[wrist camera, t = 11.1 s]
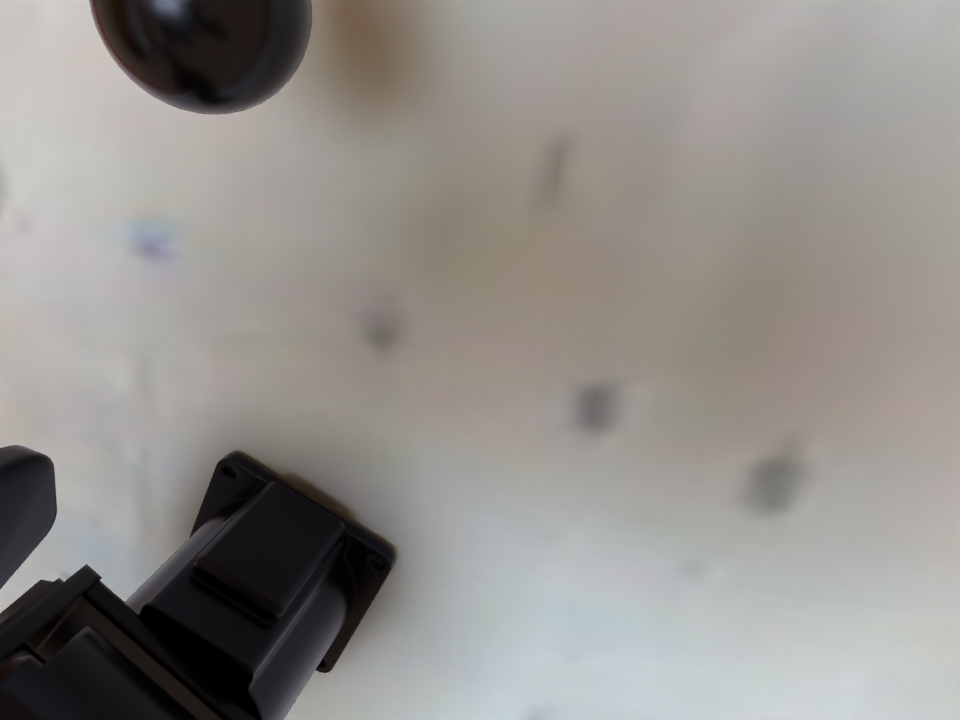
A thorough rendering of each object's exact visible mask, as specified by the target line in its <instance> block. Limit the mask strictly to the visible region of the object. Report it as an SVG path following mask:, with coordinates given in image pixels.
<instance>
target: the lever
mask: <svg viewBox="0 0 960 720" xmlns="http://www.w3.org/2000/svg"><path fill="white" fill-rule="evenodd" d="M89 1H90V7H91V12H92V16H93V19H94V22H95V25H96V28H97V30H98V33H99V35H100V37H101V39H102V41H103V43H104V45H105V47H106V48H107V50H108V52H109V53H110V55H111V56H112V58H113V59H114V61H115V62H116V63H117V64H118V66H119V67H120V68H121V69H122V70H123V72H124V73H125V74H126V75H127V76H128V77H129V78H130V79H131V80H132V81H133V82H135V83H136V84H137V85H138V86H139V87H140V88H142V89H143V90H144V91H146V92H147V93H149V94H150V95H152V96H153V97H155V98H157V99H159V100H161V101H163V102H165V103H167V104H169V105H171V106H174V107H176V108H179V109H182V110H186V111H191V112H195V113H200V114H229V113H235V112H239V111H244V110H247V109H249V108H252V107H254V106H256V105H259V104H261V103H263V102H264V101H266V100H267V99H269V98H270V97H272V96H273V95H275V94H276V93H278V92H279V91H280V90H281V89H282V88H283V87H284V86H285V85H286V83H287V82H288V81H289V80H290V79H291V78H292V76H293V75H294V73H295V72H296V70H297V69H298V67H299V65H300V64H301V61H302V59H303V57H304V55H305V52H306V49H307V46H308V42H309V39H310V33H311V26H312V1H311V0H89Z"/></svg>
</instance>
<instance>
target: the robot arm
mask: <svg viewBox="0 0 960 720" xmlns="http://www.w3.org/2000/svg"><path fill="white" fill-rule="evenodd" d="M231 467H232V468H234V469H235V470H236V472H235V471H233V470H232V468H231ZM56 514H57V504H56V488H55V472H54V464H53V462H52V461H51V459H50V458H49V457H48V456H46V455H44V454H42V453H39V452H36V451H34V450H31V449H29V448H26V447H24V446H19V445H13V446H7V447H3V448H0V589H1V588H2V586H3V585H4V584H5V583H6V582H7V581H8V579H9V578H10V577H11V576H12V575H13V574H14V572H15V571H16V570H17V569H18V568H19V567H20V565H21V564H22V563H23V562H24V561H25V560H26V558H27V557H28V556H29V555H30V554H31V553H32V551H33V550H34V549H35V548H36V547H37V545H38V544H39V543H40V542H41V541H42V540H43V538H44V537H45V536H46V535H47V534H48V532H49V531H50V529H51V527H52V526H53V523H54V521H55V518H56ZM375 557H377V558H379V559H380V560H381V561H382V562H380V561H378V560H377V559H376V558H375ZM395 561H396V558H395V554H394V553H393V551H392V550H391V549H390V548H389V547H388V546H386V545H385V544H383V543H382V542H380V541H378V540H377V539H375V538H374V537H372V536H370V535H369V534H367V533H365V532H364V531H362V530H361V529H359V528H357V527H356V526H354V525H353V524H351V523H349V522H348V521H346V520H344V519H343V518H341V517H340V516H338V515H336V514H335V513H333V512H332V511H330V510H328V509H327V508H325V507H323V506H322V505H320V504H319V503H317V502H315V501H314V500H312V499H311V498H309V497H307V496H306V495H304V494H303V493H301V492H299V491H298V490H296V489H294V488H293V487H291V486H290V485H288V484H286V483H285V482H283V481H282V480H280V479H278V478H277V477H275V476H273V475H272V474H270V473H269V472H267V471H265V470H264V469H262V468H261V467H259V466H257V465H256V464H254V463H252V462H251V461H249V460H248V459H246V458H244V457H243V456H241V455H239V454H236V453H229V454H227V455H226V456H225V457H223V458H222V459H221V460H220V461H219V462H218V464H217V466H216V468H215V471H214V473H213V476H212V479H211V481H210V484H209V487H208V489H207V492H206V495H205V497H204V500H203V503H202V505H201V508H200V511H199V513H198V516H197V518H196V521H195V524H194V526H193V529H192V532H191V534H190V537H189V539H188V540H187V541H186V542H185V543H184V544H183V545H182V546H181V547H180V548H179V549H178V550H177V551H176V552H175V553H174V554H173V555H172V556H171V557H170V558H169V559H168V560H167V561H166V562H165V563H164V564H163V565H162V566H161V567H160V568H159V569H158V570H157V571H156V572H155V573H154V574H153V575H152V576H151V577H150V578H149V579H148V580H147V581H146V582H145V583H144V584H143V585H142V586H141V587H140V588H139V589H138V590H136V591H135V592H134V593H133V594H132V595H131V596H130V597H129V598H128V599H127V600H126V601H125V602H124V601H122V600H121V599H120V598H119V597H118V596H117V595H116V594H115V593H113V592H112V591H111V590H110V589H109V588H108V587H107V586H105V585H104V584H103V583H102V582H101V581H100V579H101V578H102V577H101V576H100V575H98V574H97V573H96V572H95V571H94V570H93V569H92V568H91V567H89V566H88V565H85V566H84V567H83V568H81V569H80V570H79V571H77V572H76V573H75V574H74V575H72V576H71V577H70V578H69V579H67V580H66V581H65V582H64V581H62V580H61V579H60V578H58V579H57V580H56V581H54V582H51V581H45V580H40V581H39V582H37V583H36V584H35V585H34V586H33V587H31V588H30V589H29V590H28V591H27V592H26V593H24V594H23V595H22V596H21V597H20V598H18V599H17V600H16V601H15V602H14V603H12V604H11V605H10V606H9V607H8V608H6V609H5V610H4V611H3V612H1V613H0V720H284V718H285V717H286V715H287V714H288V712H289V710H290V709H291V707H292V706H293V704H294V703H295V701H296V699H297V698H298V696H299V695H300V693H301V692H302V690H303V688H304V687H305V685H306V684H307V682H308V681H309V679H310V677H311V676H312V674H313V673H314V671H315V670H317V671H319V672H322V673H327V672H330V671H331V670H332V668H333V667H334V665H335V663H336V662H337V660H338V658H339V657H340V655H341V653H342V652H343V650H344V648H345V647H346V645H347V643H348V642H349V640H350V638H351V637H352V635H353V633H354V632H355V630H356V628H357V626H358V625H359V623H360V621H361V620H362V618H363V616H364V615H365V613H366V611H367V610H368V608H369V606H370V605H371V603H372V601H373V600H374V598H375V596H376V594H377V593H378V591H379V589H380V588H381V586H382V584H383V583H384V581H385V579H386V578H387V576H388V574H389V573H390V571H391V569H392V568H393V566H394V564H395Z"/></svg>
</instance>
